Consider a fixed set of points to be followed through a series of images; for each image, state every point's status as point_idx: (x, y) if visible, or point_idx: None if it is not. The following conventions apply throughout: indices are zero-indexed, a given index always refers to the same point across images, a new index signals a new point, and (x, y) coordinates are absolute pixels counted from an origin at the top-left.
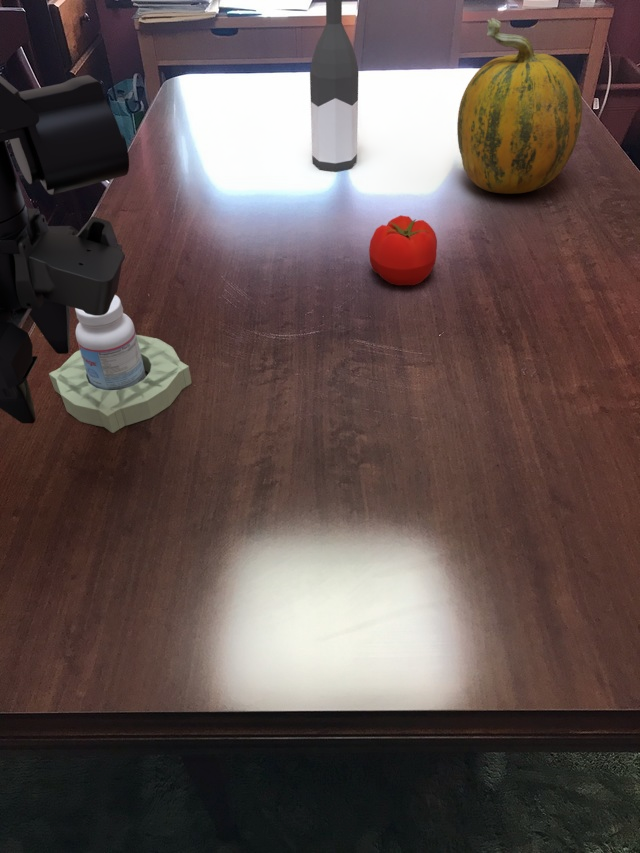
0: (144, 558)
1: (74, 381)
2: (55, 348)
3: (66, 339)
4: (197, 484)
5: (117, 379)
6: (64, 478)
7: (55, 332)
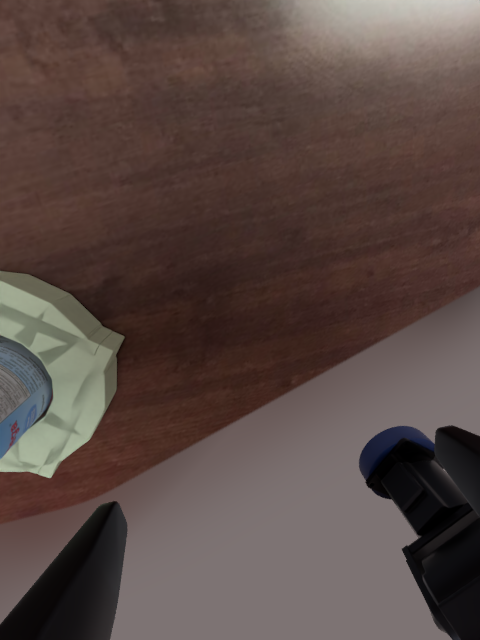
0: (339, 192)
1: (52, 436)
2: (122, 549)
3: (87, 559)
4: (194, 157)
5: (23, 373)
6: (224, 358)
7: (83, 629)
